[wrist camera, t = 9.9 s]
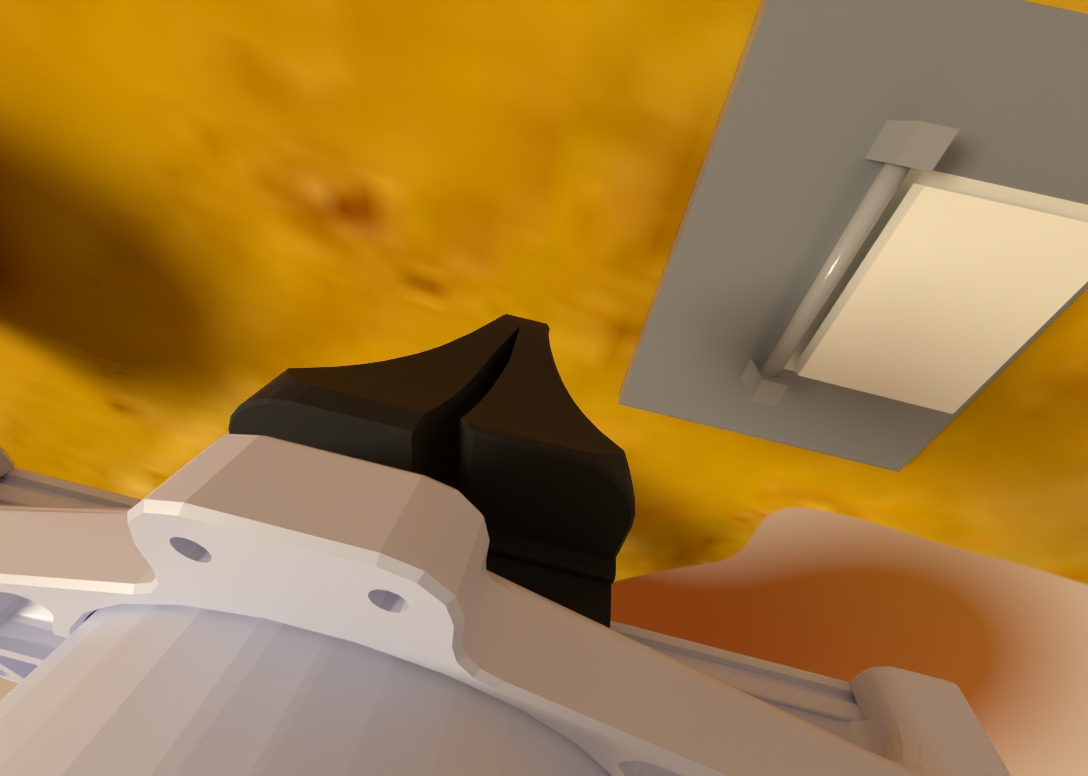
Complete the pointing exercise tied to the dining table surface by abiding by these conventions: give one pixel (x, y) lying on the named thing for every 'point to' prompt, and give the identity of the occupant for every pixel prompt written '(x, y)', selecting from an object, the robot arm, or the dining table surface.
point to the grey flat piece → (850, 199)
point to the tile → (947, 298)
